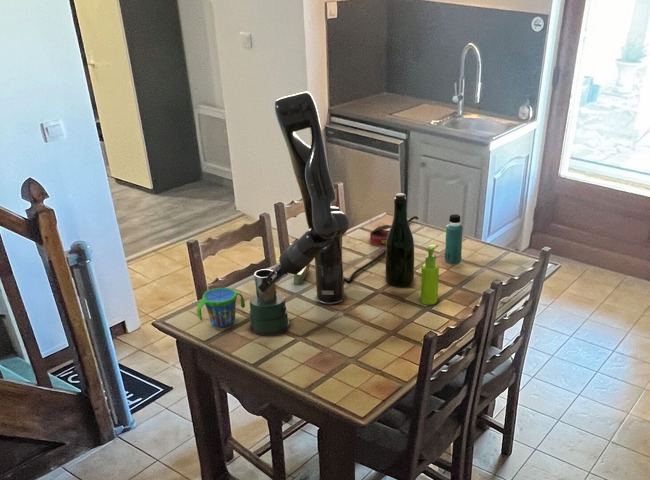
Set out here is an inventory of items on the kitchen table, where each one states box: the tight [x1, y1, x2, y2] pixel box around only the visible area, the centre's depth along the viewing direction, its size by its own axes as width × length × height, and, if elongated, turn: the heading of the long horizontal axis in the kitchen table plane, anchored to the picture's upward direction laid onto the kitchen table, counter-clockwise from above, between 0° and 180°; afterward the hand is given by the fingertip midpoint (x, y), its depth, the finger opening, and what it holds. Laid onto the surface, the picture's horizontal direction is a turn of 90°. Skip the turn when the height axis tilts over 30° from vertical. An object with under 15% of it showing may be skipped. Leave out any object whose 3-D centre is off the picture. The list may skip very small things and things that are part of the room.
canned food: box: [369, 224, 391, 247], centre depth 281 cm, size 11×10×10 cm
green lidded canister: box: [248, 291, 290, 337], centre depth 219 cm, size 12×12×10 cm
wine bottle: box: [384, 192, 415, 288], centre depth 242 cm, size 10×10×33 cm
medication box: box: [293, 262, 311, 285], centre depth 251 cm, size 12×3×4 cm, turn 172°
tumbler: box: [253, 268, 277, 303], centre depth 214 cm, size 6×6×9 cm
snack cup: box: [196, 287, 246, 328], centre depth 220 cm, size 16×10×10 cm
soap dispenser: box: [420, 243, 440, 306], centre depth 234 cm, size 6×7×20 cm
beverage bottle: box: [444, 213, 464, 265], centre depth 259 cm, size 6×7×20 cm
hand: (268, 283), depth 213 cm, fingers open, 8 cm apart
